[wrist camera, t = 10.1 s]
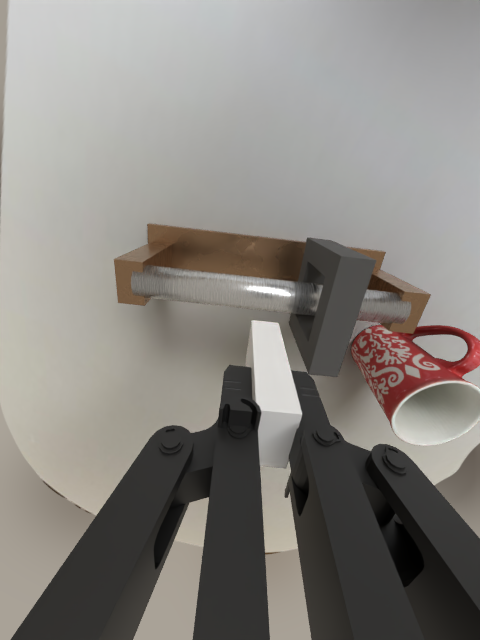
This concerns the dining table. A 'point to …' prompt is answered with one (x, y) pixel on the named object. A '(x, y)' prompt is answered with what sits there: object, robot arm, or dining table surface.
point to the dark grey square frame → (330, 303)
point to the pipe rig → (250, 276)
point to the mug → (420, 383)
